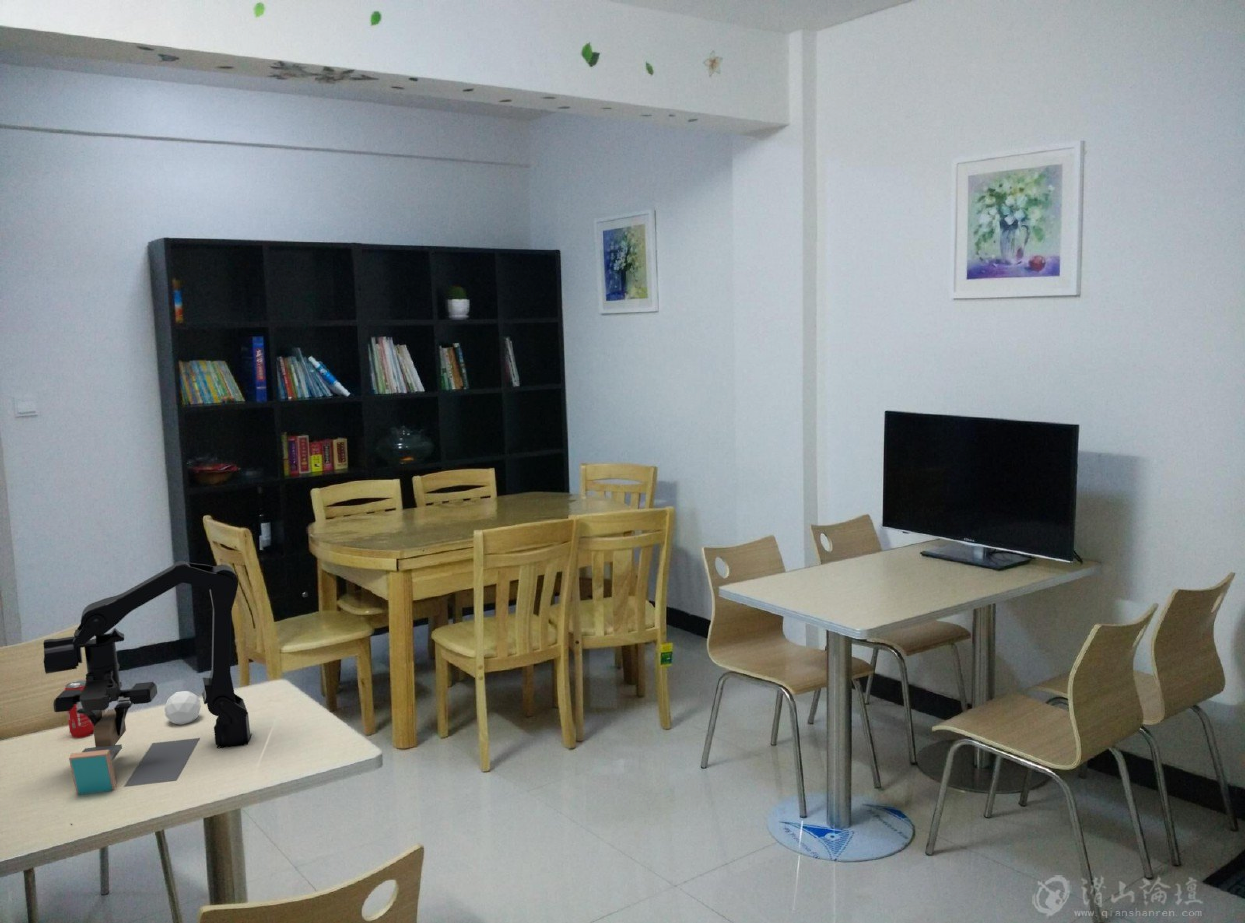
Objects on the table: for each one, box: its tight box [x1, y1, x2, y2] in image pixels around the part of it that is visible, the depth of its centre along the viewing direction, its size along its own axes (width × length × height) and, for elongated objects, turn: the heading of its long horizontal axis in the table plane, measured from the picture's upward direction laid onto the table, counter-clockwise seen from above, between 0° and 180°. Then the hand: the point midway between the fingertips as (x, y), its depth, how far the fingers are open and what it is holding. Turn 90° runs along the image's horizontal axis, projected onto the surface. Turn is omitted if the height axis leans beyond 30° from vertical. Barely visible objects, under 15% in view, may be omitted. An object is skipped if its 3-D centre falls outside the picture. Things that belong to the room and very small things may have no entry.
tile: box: [68, 750, 118, 795], centre depth 205 cm, size 7×2×9 cm, turn 100°
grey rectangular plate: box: [123, 737, 201, 788], centre depth 219 cm, size 10×22×1 cm, turn 10°
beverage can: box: [64, 679, 94, 739], centre depth 236 cm, size 5×5×12 cm
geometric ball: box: [164, 690, 202, 726], centre depth 240 cm, size 8×8×8 cm
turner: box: [82, 708, 127, 762], centre depth 213 cm, size 17×7×5 cm, turn 10°
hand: (110, 735), depth 217 cm, fingers closed on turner, 3 cm apart
